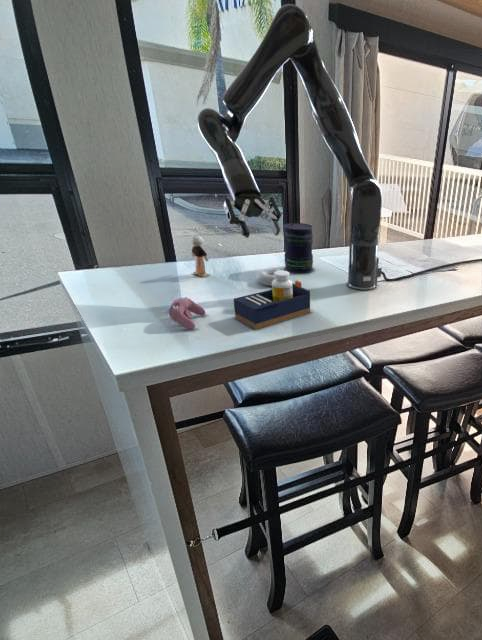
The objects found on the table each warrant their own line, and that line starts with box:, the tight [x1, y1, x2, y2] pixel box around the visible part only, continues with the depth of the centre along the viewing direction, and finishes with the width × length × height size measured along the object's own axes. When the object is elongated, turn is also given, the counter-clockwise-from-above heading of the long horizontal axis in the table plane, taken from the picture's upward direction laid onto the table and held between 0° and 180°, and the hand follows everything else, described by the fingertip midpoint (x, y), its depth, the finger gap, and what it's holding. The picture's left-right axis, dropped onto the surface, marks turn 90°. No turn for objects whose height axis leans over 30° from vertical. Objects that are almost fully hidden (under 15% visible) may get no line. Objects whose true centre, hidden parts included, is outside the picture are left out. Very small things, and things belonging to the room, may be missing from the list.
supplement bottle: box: [271, 270, 293, 302], centre depth 114 cm, size 5×5×10 cm
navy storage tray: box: [232, 279, 311, 330], centre depth 113 cm, size 18×9×8 cm, turn 142°
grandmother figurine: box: [190, 234, 210, 278], centre depth 133 cm, size 8×4×13 cm, turn 68°
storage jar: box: [283, 222, 314, 275], centre depth 147 cm, size 10×10×15 cm
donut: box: [256, 268, 283, 287], centre depth 136 cm, size 10×4×10 cm
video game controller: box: [167, 296, 206, 330], centre depth 105 cm, size 10×5×7 cm, turn 5°
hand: (262, 235), depth 114 cm, fingers open, 8 cm apart
